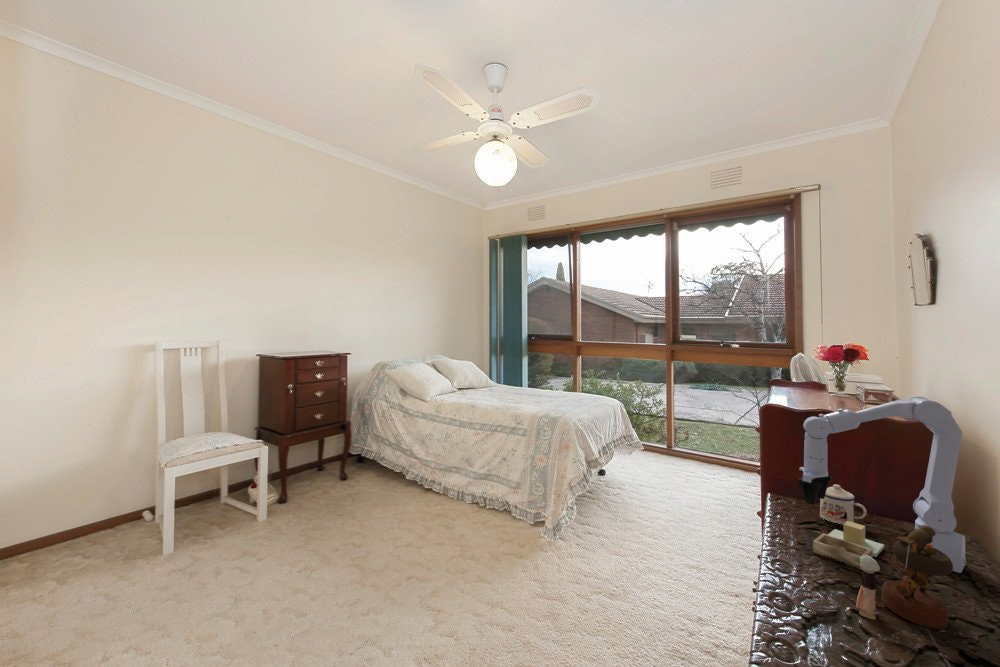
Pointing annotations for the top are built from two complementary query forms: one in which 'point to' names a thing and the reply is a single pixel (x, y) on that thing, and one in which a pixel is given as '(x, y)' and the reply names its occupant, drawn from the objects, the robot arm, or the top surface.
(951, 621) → the top surface
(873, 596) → the grandmother figurine
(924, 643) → the top surface
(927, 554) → the music box
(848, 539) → the lid
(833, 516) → the teacup with lid
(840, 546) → the box
